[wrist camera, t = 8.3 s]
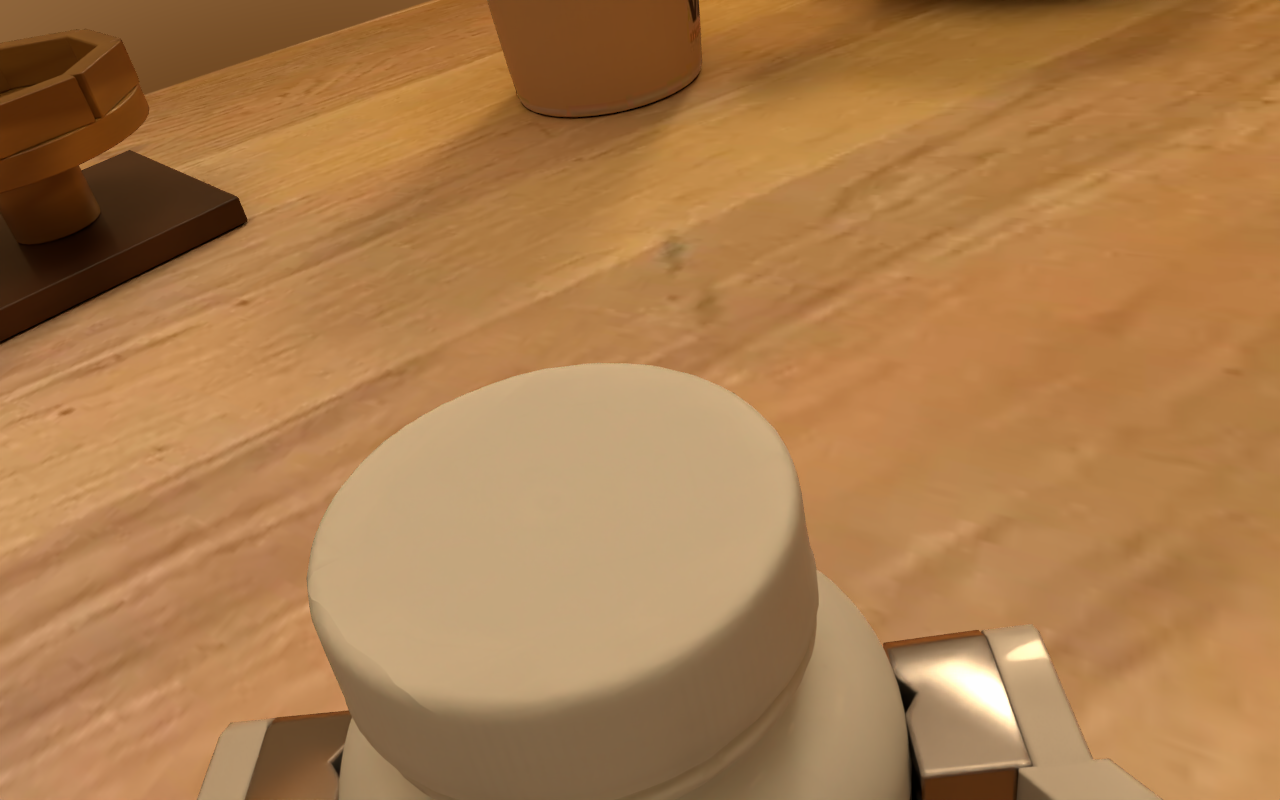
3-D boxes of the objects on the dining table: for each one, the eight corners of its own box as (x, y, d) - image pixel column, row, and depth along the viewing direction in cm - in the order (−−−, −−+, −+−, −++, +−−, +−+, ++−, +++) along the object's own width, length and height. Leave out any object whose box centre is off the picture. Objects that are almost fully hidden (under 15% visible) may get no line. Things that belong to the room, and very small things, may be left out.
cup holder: (-19, 352, 34) (-138, 161, 31) (-99, 276, 40) (-207, 109, 37) (249, 221, 39) (174, 42, 35) (140, 171, 45) (67, 15, 42)
